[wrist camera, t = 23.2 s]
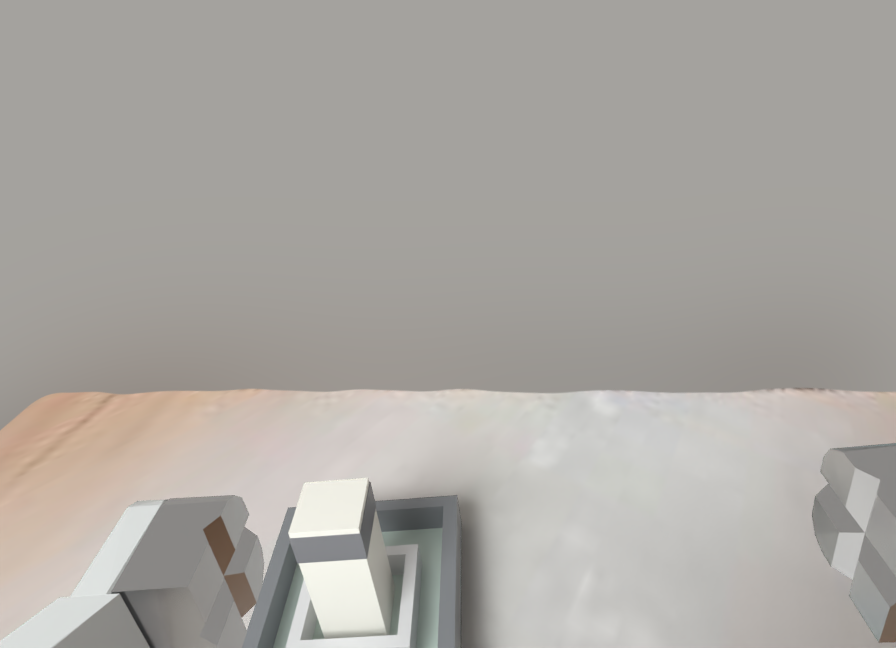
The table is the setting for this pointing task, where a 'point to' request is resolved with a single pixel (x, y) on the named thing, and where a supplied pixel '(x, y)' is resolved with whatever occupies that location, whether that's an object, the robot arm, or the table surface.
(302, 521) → the plastic plug
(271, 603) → the walled box
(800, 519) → the table surface
